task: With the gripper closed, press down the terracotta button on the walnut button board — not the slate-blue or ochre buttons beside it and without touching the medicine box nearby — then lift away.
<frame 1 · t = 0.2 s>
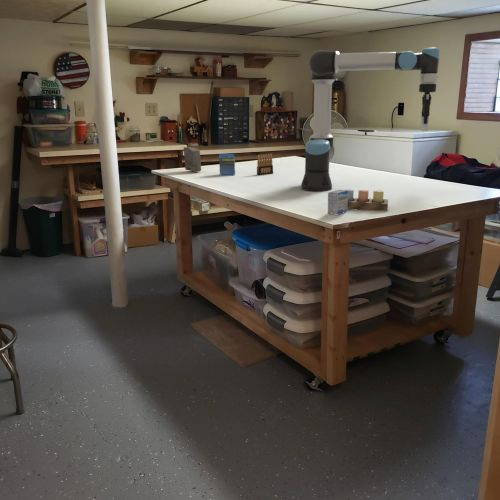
hand: (423, 130, 247), 28 cm above the table, tool pointing down, fingers open, 13 cm apart
geological specimen: (192, 172, 313), on the table
button ochre: (378, 197, 211), point 4 cm above the table, slide at 0.0 cm
medicine box: (337, 213, 205), on the table
button terracotta: (363, 197, 212), point 4 cm above the table, slide at 0.0 cm
label tape box: (227, 175, 301), on the table
button slate: (348, 196, 214), point 4 cm above the table, slide at 0.0 cm
ammunition clip: (264, 174, 301), on the table
button board: (362, 207, 214), on the table
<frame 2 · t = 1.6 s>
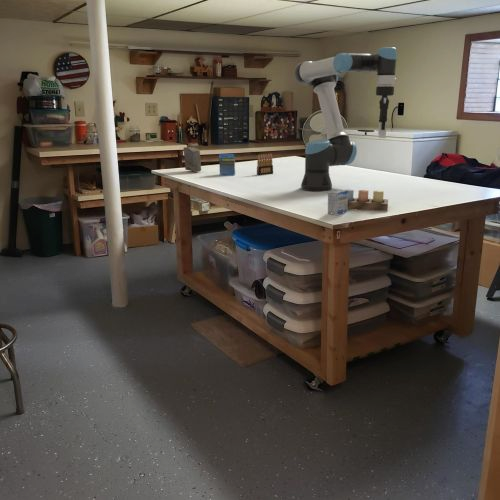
hand: (381, 136, 228), 27 cm above the table, tool pointing down, fingers open, 13 cm apart
nothing on the table moved.
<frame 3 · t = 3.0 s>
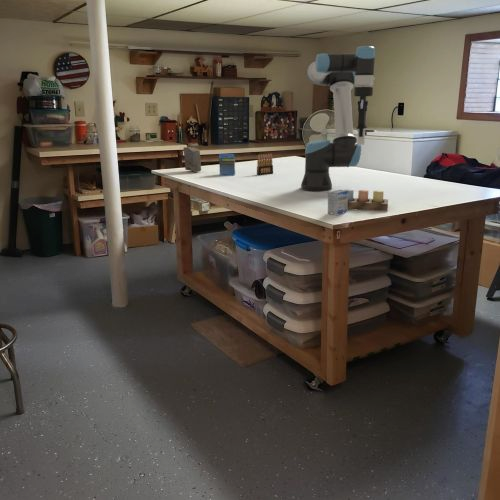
hand: (360, 144, 220), 24 cm above the table, tool pointing down, fingers open, 2 cm apart
nothing on the table moved.
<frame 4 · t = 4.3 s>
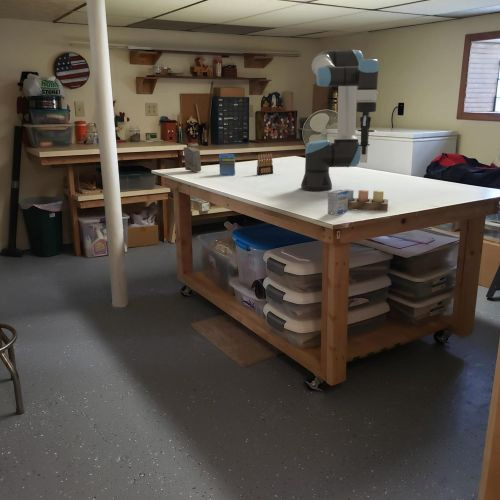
hand: (363, 162, 208), 19 cm above the table, tool pointing down, fingers closed
nothing on the table moved.
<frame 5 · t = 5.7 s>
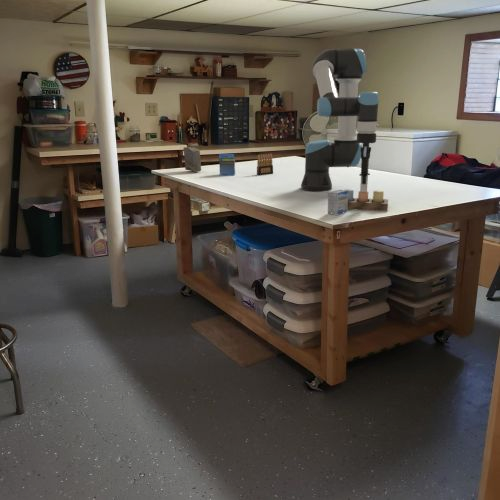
hand: (363, 191, 211), 7 cm above the table, tool pointing down, fingers closed
button terracotta: (363, 198, 212), point 4 cm above the table, slide at 0.4 cm, touching gripper
everything else where it was.
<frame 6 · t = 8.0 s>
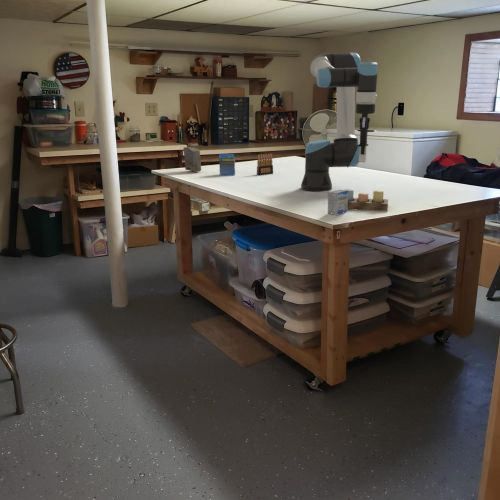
hand: (362, 161, 215), 18 cm above the table, tool pointing down, fingers closed
button terracotta: (363, 200, 213), point 3 cm above the table, slide at 1.3 cm
everything else where it was.
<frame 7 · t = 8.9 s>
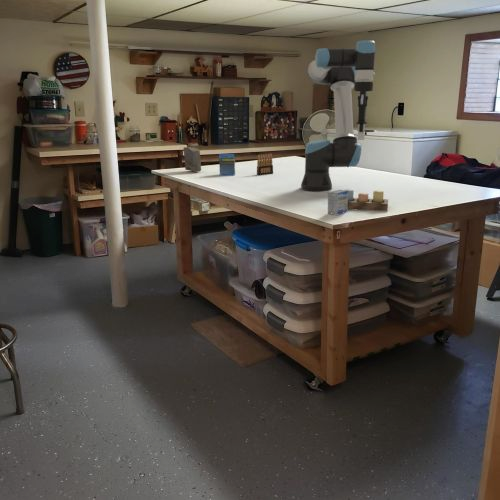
hand: (360, 139, 218), 26 cm above the table, tool pointing down, fingers closed
nothing on the table moved.
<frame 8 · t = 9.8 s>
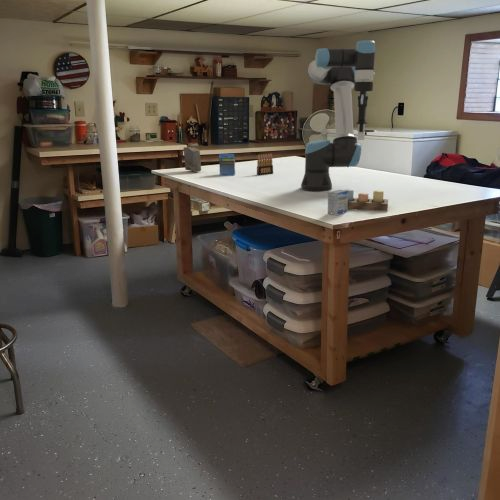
hand: (360, 139, 219), 26 cm above the table, tool pointing down, fingers closed
nothing on the table moved.
at the end: button terracotta slide at 1.3 cm; button slate slide at 0.0 cm; button ochre slide at 0.0 cm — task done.
